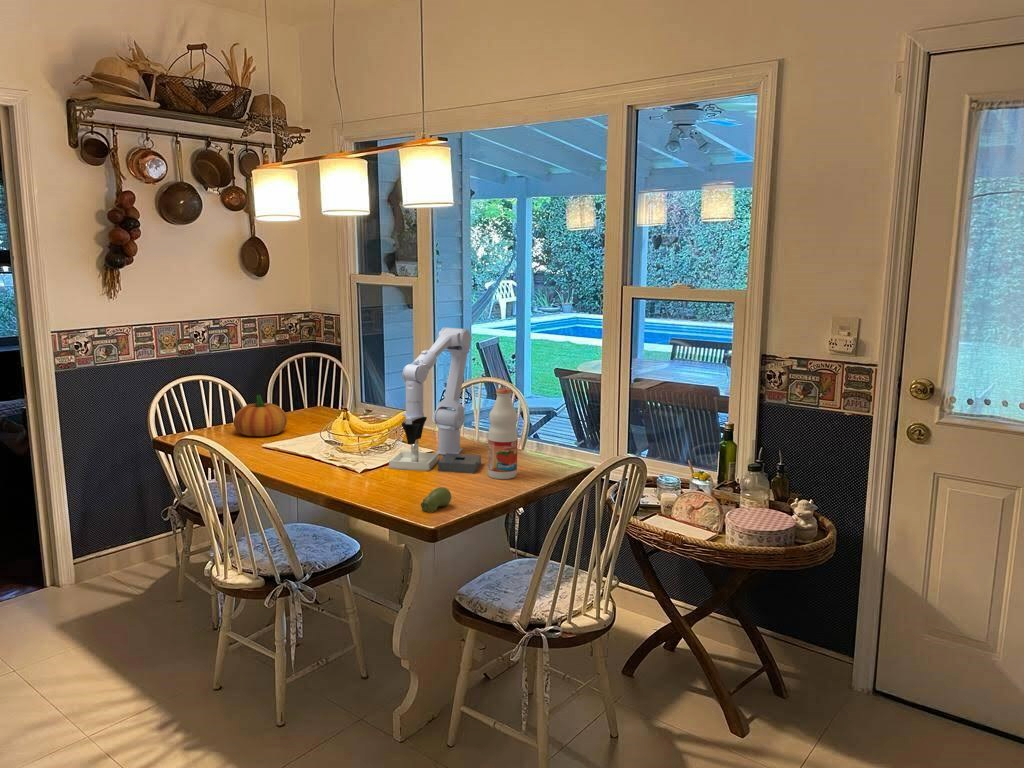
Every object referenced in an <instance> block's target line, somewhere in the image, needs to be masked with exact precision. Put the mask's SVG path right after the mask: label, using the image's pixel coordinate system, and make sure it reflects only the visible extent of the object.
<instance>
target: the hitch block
mask: <svg viewBox="0 0 1024 768" xmlns="http://www.w3.org/2000/svg"><path fill="white" fill-rule="evenodd" d="M481 465H482V454H467V453H459V454H452V453H446V454H445V455H443V456H442V457H441V458H440V459H439V460H438V462H437V471H438V472H443V473H445V472H446V473H460V474H461V473H463V474H475V473H476V472H477V471H478V469H479V468H480V466H481Z"/></svg>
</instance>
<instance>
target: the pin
mask: <svg viewBox="0 0 1024 768" xmlns="http://www.w3.org/2000/svg"><path fill="white" fill-rule="evenodd" d="M419 440H420V439H416V441H415V444H410V447H411V449H410V450H411V451H410V452H411V462H419V452H420V451H419V449H420V448H419V447H420V446H419Z"/></svg>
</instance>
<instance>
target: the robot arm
mask: <svg viewBox="0 0 1024 768" xmlns="http://www.w3.org/2000/svg"><path fill="white" fill-rule="evenodd" d="M471 341H472V335H471V332H470V331H469V329H468V328H458V327H447V326H445V327H442V328H441V330H440V331H438V338H437V339H436V340H435V342H434V343H433V344H432V345H431V347H430V348H429V349H426V350H422V351H421V352H420V354H419V355H418V356H417V357H416V359H414V360H413V362H412V363H409V364H407V365H405V366H404V367H403V370H402V373H401V378H402V380H403V385H404V387H405V412H403V413H402V414H401V416H403V417H404V418H405V421H403V422H401V426H402V428H403V430H404V433H405V436H406V441H407V444H408V445H411V444H415V441H416V439H419V440H421V438H422V435H423V430H424V426H425V423H426V421H427V418H428V417H427V416H425V414H424V382H425V381H426V380H427V378H428V374H429V373H430V370H431V369H432V368H433V366H435V364H436V363H437V361H438V360H437V359H438V357H439V355H441V354H442V353H443V352H445V350H446V351H448V352H449V353H450V355H451V359H450V363H449V372H448V377H447V381H446V386H445V392H444V398H443V399H442V400H441V401H439V402H438V403H437V406H436V410H435V411H434V413H433V422H434V424H435V425H436V428H438V450H436V451H435V453H438V455H443V456H444V455H445V454H446V453H452V454H461V452H462V451H463V449H464V448H463V447H461V430H460V429H461V428H462V426H463V425H464V423H465V419H466V418H465V409H466V408H465V407H464V406H463V404H462V403H461V402H460V397H461V394H462V393H461V392H462V387H463V380H464V377H465V376H464V375H465V370H466V364H467V358H468V354H470V349H471V343H472V342H471Z"/></svg>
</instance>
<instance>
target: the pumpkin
mask: <svg viewBox="0 0 1024 768" xmlns="http://www.w3.org/2000/svg"><path fill="white" fill-rule="evenodd" d="M255 398H256V401H255V403H248V404H246V405H245V406H243V407H242V408H240V409H239V410H238V411H237V412H236V413H235V415H234V418H233V426H234V428H235V430H236V431H237V433H239V434H242V435H244V436H247V437H252V438H253V437H256V438H257V437H260V438H261V437H262V438H263V437H269V436H274V435H277V434H279V433H282V432H283V430H284V429H285V428H286V426H287V423H288V417H287V414H286V412H285V411H284V409H282V408H281V406H279V405H277V404H274V403H270V402H264V401H263V398H262V396H261V394H256V397H255Z"/></svg>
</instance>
